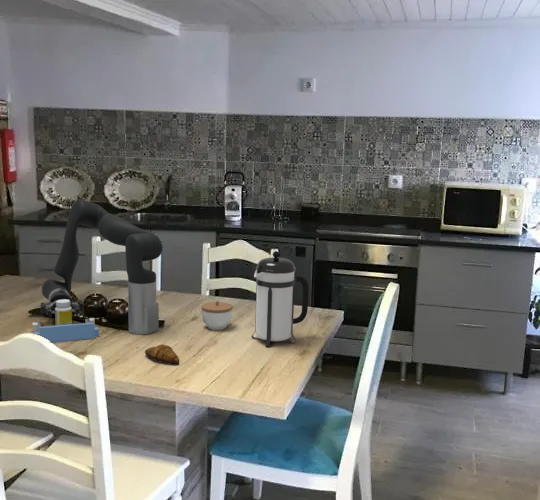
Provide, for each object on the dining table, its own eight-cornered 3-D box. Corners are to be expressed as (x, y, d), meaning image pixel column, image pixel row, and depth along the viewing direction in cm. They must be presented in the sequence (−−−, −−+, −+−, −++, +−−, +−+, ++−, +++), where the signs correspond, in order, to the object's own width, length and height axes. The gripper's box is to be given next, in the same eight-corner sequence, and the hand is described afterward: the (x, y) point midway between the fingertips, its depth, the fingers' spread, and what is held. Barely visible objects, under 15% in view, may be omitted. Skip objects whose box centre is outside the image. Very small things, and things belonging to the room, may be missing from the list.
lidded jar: (238, 327, 228) (239, 301, 226) (215, 333, 220) (216, 307, 218) (217, 321, 235) (218, 295, 233) (195, 326, 227) (195, 300, 226)
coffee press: (290, 351, 205) (294, 257, 200) (244, 344, 210) (246, 252, 205) (307, 335, 221) (310, 248, 216) (263, 329, 226) (265, 244, 221)
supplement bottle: (75, 327, 223) (75, 300, 221) (64, 331, 218) (63, 303, 216) (63, 325, 225) (62, 298, 223) (51, 329, 220) (51, 301, 218)
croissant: (186, 362, 193) (186, 346, 192) (170, 368, 188) (170, 352, 187) (154, 352, 201) (154, 336, 200) (138, 358, 196) (138, 342, 195)
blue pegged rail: (31, 322, 227) (31, 308, 226) (90, 317, 234) (90, 304, 233) (34, 343, 205) (33, 328, 204) (99, 338, 212) (99, 323, 211)
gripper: (38, 291, 230) (41, 303, 215) (80, 289, 235) (85, 300, 220) (39, 312, 231) (41, 325, 217) (80, 309, 237) (86, 321, 222)
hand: (63, 312), depth 218 cm, fingers open, 8 cm apart
